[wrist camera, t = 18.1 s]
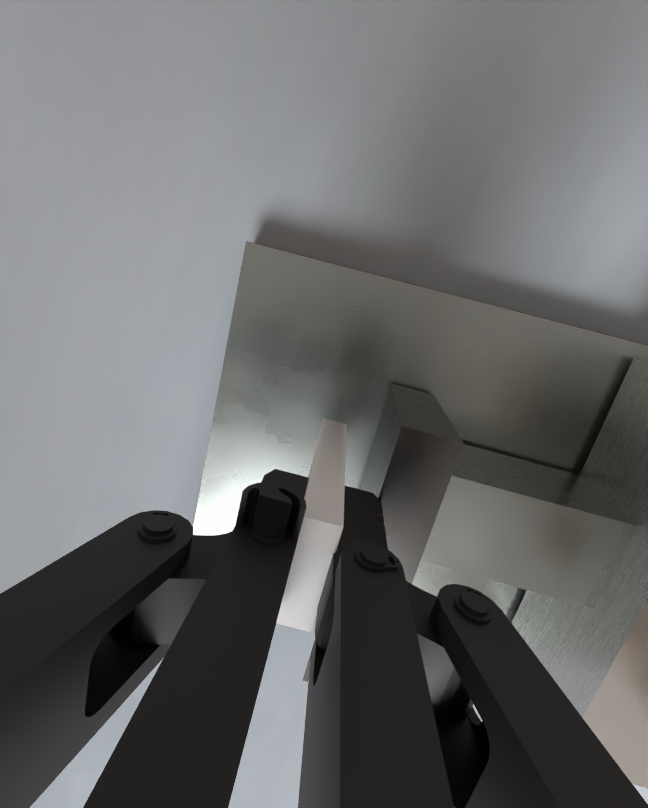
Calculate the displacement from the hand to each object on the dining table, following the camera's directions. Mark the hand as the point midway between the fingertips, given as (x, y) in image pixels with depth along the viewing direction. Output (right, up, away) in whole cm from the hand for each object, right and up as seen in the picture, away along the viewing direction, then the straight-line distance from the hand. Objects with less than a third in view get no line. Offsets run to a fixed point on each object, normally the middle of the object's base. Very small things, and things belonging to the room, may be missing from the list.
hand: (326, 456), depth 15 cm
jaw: (+7, -2, +1) cm, 7 cm away
